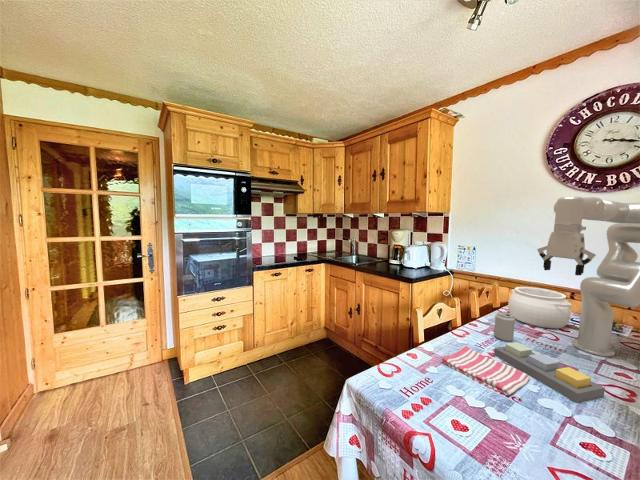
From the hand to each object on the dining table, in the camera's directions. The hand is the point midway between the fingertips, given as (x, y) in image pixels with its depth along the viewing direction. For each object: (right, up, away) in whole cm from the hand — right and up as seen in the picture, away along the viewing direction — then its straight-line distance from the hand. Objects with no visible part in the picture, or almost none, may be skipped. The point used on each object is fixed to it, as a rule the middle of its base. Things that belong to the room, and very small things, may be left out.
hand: (562, 272), depth 100 cm
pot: (+26, -33, +42) cm, 59 cm away
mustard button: (-12, -34, -16) cm, 39 cm away
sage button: (-16, -33, +2) cm, 36 cm away
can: (-9, -34, +20) cm, 40 cm away
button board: (-14, -36, -7) cm, 39 cm away
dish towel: (-35, -36, -6) cm, 51 cm away
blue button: (-14, -34, -7) cm, 37 cm away
